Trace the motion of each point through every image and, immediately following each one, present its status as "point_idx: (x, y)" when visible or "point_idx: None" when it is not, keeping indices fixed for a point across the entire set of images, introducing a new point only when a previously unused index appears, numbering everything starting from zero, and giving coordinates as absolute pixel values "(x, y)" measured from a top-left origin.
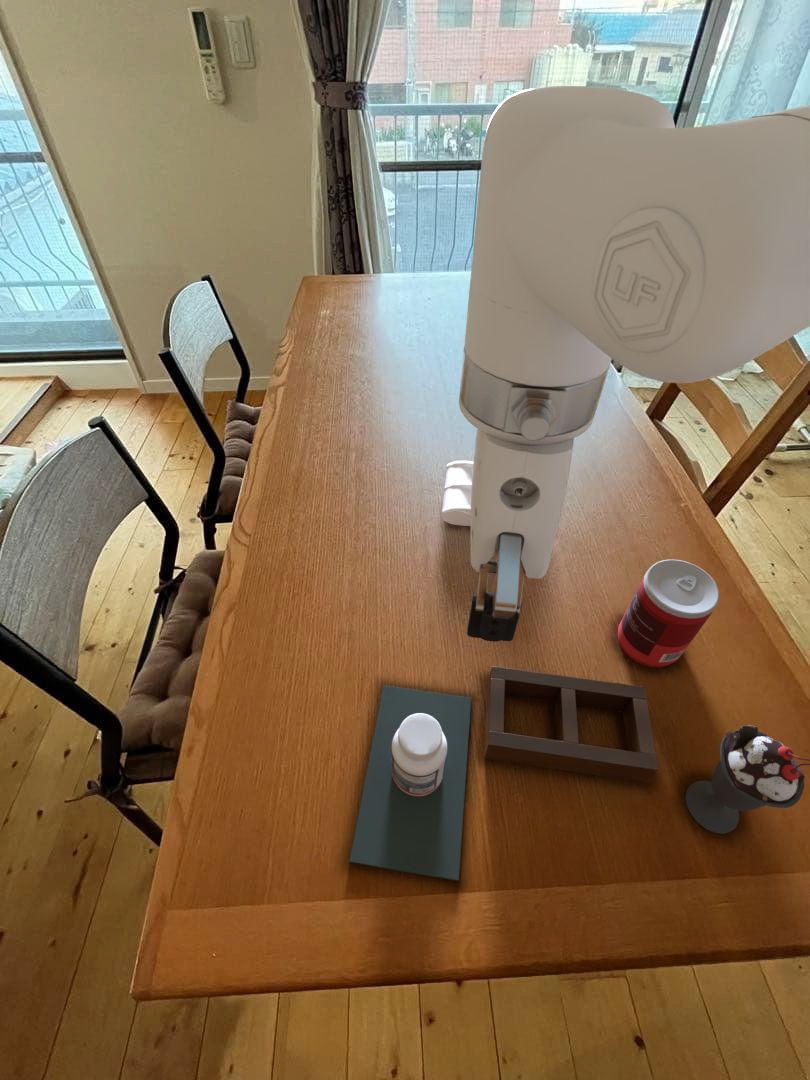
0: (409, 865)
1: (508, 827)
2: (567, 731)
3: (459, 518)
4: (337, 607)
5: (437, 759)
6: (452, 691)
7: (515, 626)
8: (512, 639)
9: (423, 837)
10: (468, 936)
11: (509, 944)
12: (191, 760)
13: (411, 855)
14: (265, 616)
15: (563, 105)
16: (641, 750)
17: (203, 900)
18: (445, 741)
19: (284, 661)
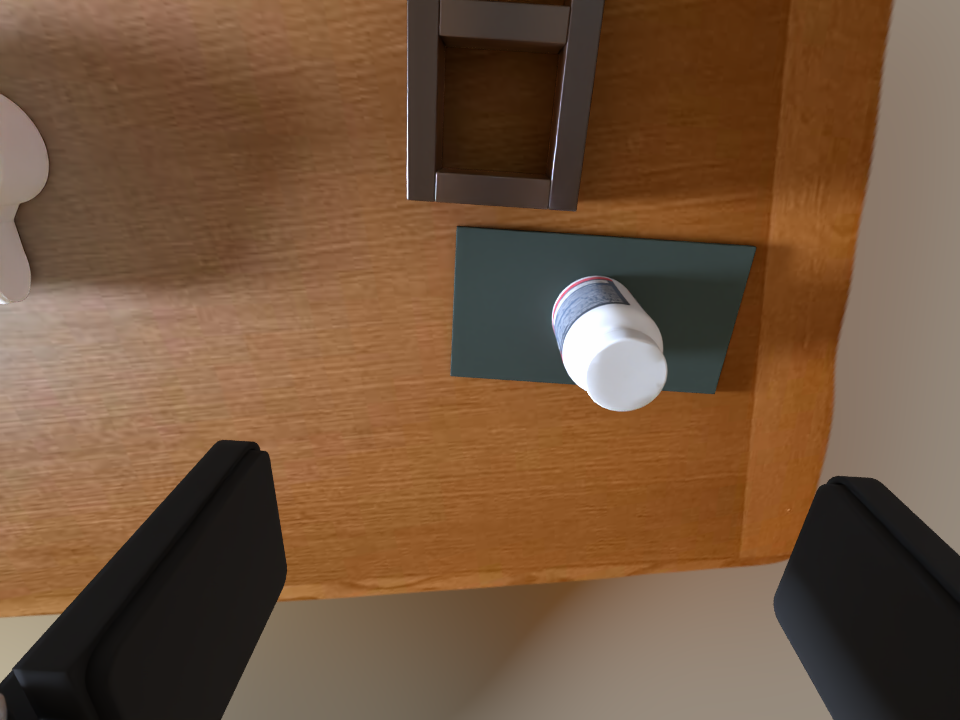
0: (728, 318)
1: (683, 161)
2: (544, 32)
3: (7, 260)
4: (313, 456)
5: (646, 327)
6: (445, 259)
7: (957, 559)
8: (877, 480)
9: (693, 300)
10: (824, 230)
11: (846, 168)
12: (577, 576)
13: (715, 316)
14: (355, 545)
15: None
16: None
17: (734, 530)
18: (610, 312)
19: (427, 509)
